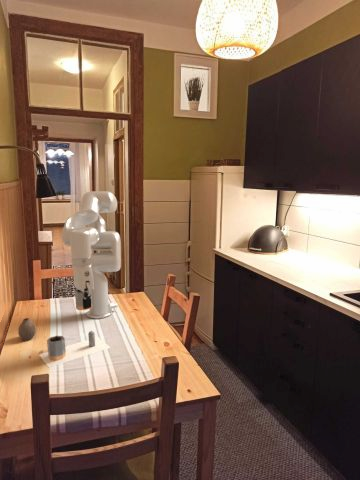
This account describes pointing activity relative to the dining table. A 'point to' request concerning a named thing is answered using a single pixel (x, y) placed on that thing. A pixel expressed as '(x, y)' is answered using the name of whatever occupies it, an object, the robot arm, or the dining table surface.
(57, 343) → the seated sleeve
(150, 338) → the dining table surface
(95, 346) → the pin board
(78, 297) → the loose sleeve
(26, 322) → the vase
